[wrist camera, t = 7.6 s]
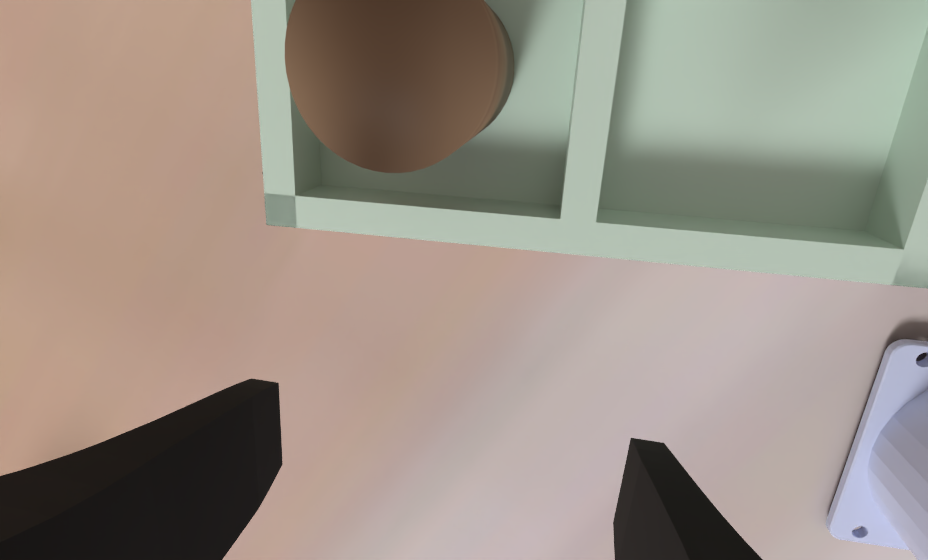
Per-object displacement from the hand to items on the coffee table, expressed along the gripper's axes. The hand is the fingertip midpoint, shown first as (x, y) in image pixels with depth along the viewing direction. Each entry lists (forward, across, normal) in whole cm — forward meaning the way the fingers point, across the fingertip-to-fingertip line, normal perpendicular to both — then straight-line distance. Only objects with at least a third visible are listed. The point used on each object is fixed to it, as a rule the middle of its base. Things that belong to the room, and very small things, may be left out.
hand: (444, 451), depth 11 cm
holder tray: (+9, -2, -8) cm, 12 cm away
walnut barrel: (+8, +2, -7) cm, 11 cm away
